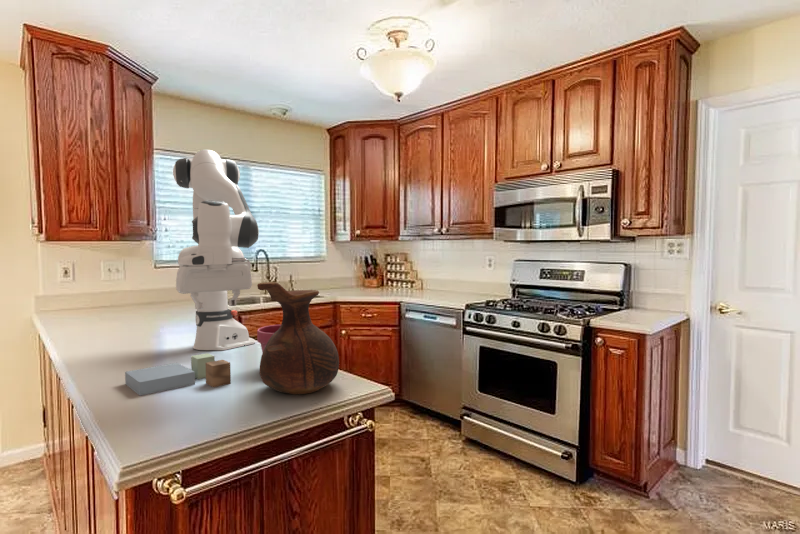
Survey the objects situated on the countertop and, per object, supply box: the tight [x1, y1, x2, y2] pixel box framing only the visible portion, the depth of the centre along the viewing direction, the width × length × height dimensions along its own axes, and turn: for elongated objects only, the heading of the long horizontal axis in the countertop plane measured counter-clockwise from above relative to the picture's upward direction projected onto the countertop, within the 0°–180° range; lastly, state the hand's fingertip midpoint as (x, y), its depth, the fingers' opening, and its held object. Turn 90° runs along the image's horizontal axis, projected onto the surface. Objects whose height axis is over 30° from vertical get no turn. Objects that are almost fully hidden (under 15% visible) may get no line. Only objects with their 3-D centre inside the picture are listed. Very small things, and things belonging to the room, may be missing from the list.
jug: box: [256, 281, 340, 395], centre depth 125 cm, size 22×22×30 cm
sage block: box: [190, 353, 216, 380], centre depth 138 cm, size 5×5×6 cm
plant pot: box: [256, 324, 281, 353], centre depth 146 cm, size 14×14×13 cm
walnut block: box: [205, 359, 232, 388], centre depth 130 cm, size 5×5×6 cm
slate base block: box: [124, 362, 196, 396], centre depth 130 cm, size 14×14×4 cm
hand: (216, 307), depth 129 cm, fingers open, 8 cm apart
